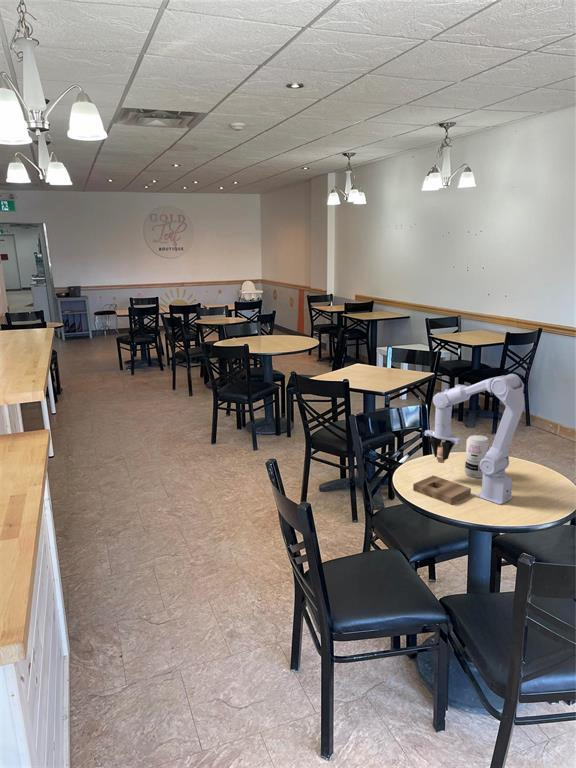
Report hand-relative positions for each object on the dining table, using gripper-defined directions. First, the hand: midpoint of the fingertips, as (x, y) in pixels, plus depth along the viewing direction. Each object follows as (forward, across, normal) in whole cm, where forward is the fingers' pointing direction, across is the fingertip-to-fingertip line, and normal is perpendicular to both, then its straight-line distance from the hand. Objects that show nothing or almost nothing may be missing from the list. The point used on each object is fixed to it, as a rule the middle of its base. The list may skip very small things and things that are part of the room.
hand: (441, 457), depth 207 cm
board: (+9, -7, +9) cm, 15 cm away
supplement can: (+9, -6, -15) cm, 18 cm away
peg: (+2, 0, 0) cm, 2 cm away
